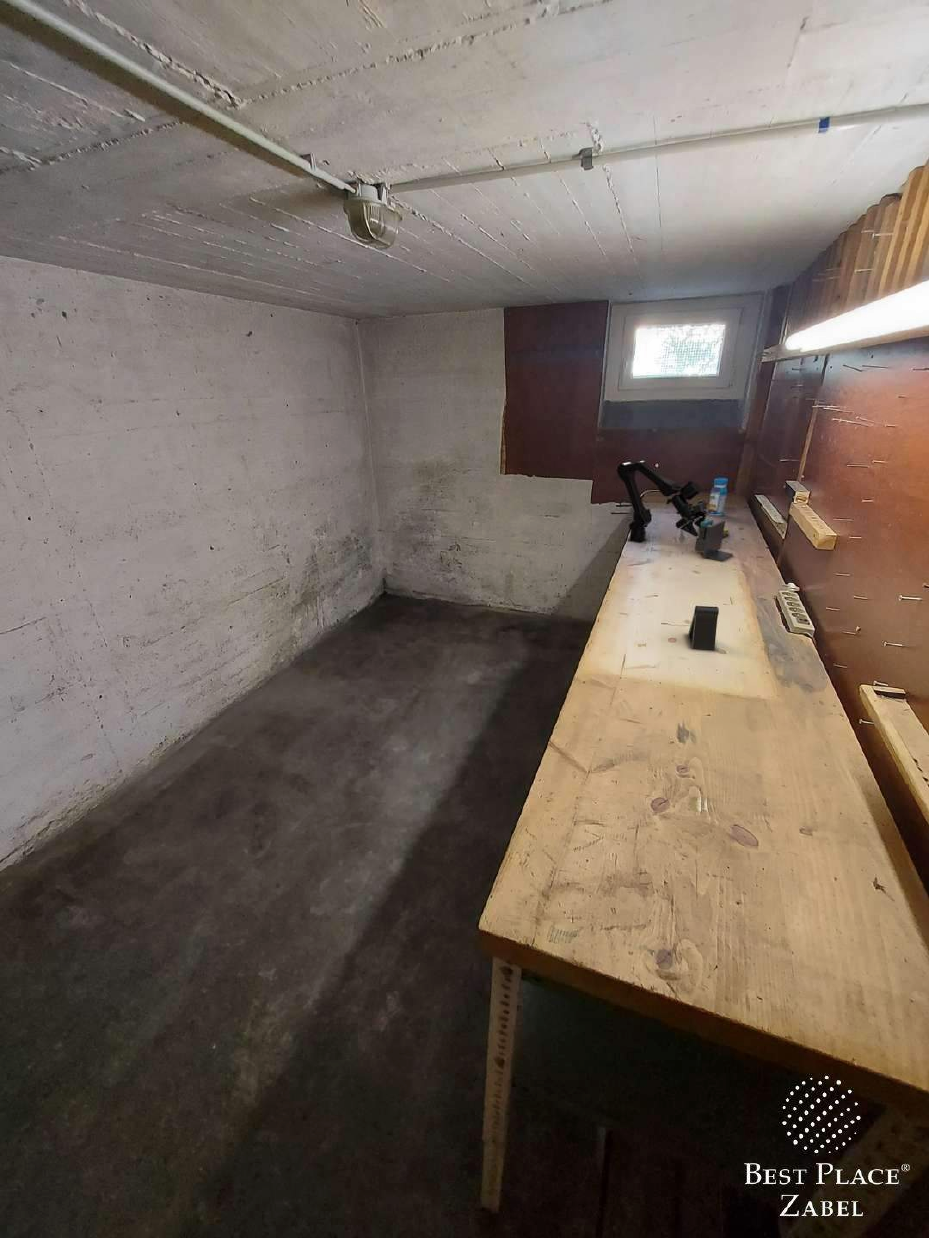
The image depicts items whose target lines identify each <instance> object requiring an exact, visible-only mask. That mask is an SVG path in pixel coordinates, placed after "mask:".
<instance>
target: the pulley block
mask: <svg viewBox="0 0 929 1238" xmlns="http://www.w3.org/2000/svg"><path fill="white" fill-rule="evenodd" d="M715 523H716V522H713V524H715ZM713 524H712V525H713ZM729 530H730V529H729V527H727V526H726V525H725V526H724V531H723V537H722V538H724V537H727V536H728V535H729ZM697 531H698V532H700V528H699V527H698V528H697Z"/></svg>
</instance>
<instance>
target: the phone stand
mask: <svg viewBox="0 0 929 1238" xmlns="http://www.w3.org/2000/svg"><path fill="white" fill-rule="evenodd" d="M719 611H720V608H719V606H709V605H695V607H694V610H693V616H692V619H691V622H690V626H689V629H688V633H687V636H688V639H689V643H690V645H691V648H692V649H695V650H709V651H715V649H716V637H717V628H718V627H717V626H718V618H719V614H720V612H719Z"/></svg>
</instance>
